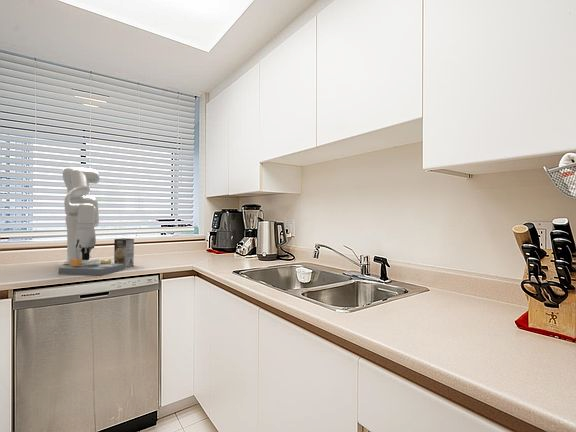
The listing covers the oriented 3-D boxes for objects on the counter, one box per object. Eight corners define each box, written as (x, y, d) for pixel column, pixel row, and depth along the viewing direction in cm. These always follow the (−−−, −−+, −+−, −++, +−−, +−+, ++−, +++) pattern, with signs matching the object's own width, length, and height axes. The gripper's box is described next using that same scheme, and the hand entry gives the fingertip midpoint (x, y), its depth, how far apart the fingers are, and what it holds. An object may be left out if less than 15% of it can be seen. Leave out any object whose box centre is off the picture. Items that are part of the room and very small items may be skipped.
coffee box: (113, 266, 182) (113, 238, 182) (122, 264, 188) (122, 238, 188) (125, 267, 179) (125, 239, 179) (134, 265, 185) (134, 238, 185)
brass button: (105, 262, 166) (105, 259, 166) (113, 262, 165) (113, 259, 165) (98, 264, 161) (98, 260, 161) (106, 264, 160) (106, 260, 160)
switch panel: (86, 268, 175) (86, 261, 175) (125, 269, 171) (125, 262, 171) (58, 273, 157) (58, 266, 157) (100, 275, 154) (100, 268, 154)
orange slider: (75, 265, 164) (75, 258, 164) (81, 265, 164) (81, 258, 164) (70, 266, 161) (70, 259, 161) (77, 266, 161) (77, 259, 161)
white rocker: (91, 263, 167) (91, 260, 167) (99, 261, 166) (99, 259, 166) (85, 264, 163) (85, 261, 163) (93, 262, 162) (93, 260, 162)
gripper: (90, 225, 177) (90, 257, 177) (68, 227, 162) (68, 261, 163) (102, 226, 176) (102, 258, 176) (80, 227, 161) (80, 262, 162)
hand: (85, 259), depth 170 cm, fingers closed
